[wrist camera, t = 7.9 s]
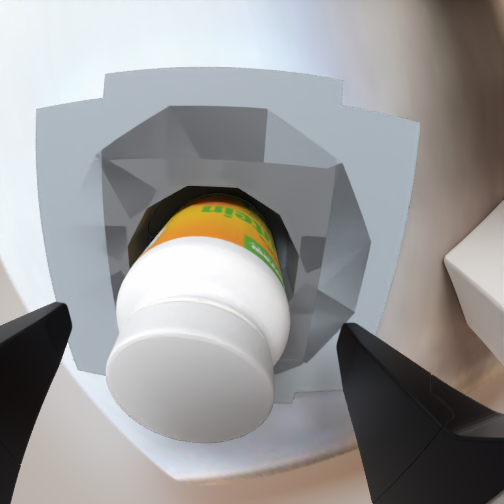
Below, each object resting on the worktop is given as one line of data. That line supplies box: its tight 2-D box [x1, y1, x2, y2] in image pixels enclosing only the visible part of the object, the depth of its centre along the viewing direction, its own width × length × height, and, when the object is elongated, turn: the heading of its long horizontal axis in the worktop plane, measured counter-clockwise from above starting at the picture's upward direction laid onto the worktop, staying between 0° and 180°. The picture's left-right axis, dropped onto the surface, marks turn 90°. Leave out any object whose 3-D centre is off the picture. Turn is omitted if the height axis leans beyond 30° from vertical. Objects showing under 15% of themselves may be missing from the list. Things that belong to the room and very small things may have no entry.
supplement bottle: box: [106, 193, 290, 443], centre depth 11 cm, size 5×5×10 cm
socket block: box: [36, 67, 420, 403], centre depth 14 cm, size 16×16×3 cm
